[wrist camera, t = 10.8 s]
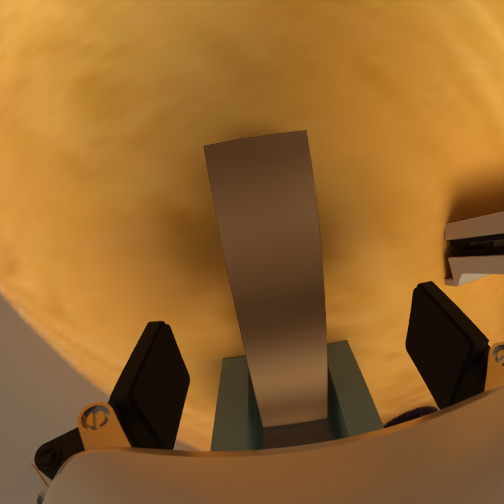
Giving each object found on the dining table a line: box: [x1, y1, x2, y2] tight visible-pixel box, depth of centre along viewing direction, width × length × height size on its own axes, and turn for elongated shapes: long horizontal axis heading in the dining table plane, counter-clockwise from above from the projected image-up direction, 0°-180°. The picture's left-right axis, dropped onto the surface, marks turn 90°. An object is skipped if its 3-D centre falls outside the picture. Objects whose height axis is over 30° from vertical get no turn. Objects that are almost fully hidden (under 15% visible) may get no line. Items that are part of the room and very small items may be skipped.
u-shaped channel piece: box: [210, 341, 384, 451], centre depth 15 cm, size 6×10×13 cm, turn 99°
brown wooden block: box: [204, 130, 332, 449], centre depth 15 cm, size 17×4×8 cm, turn 9°
